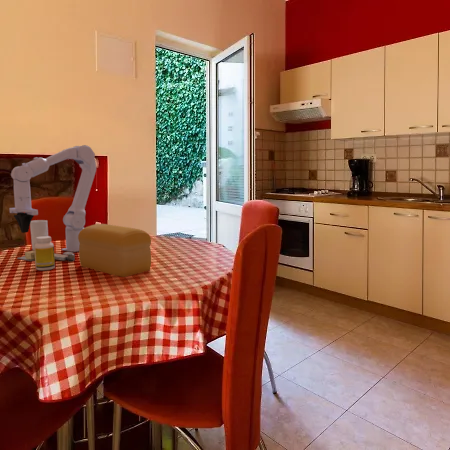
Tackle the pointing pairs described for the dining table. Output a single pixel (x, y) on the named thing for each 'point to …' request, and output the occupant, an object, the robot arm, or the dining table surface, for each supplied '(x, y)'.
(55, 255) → the tong arm
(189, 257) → the dining table surface
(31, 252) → the block
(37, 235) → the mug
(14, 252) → the dining table surface
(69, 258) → the dark-tipped long bar
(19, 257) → the plate
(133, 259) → the bread
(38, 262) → the pill bottle
